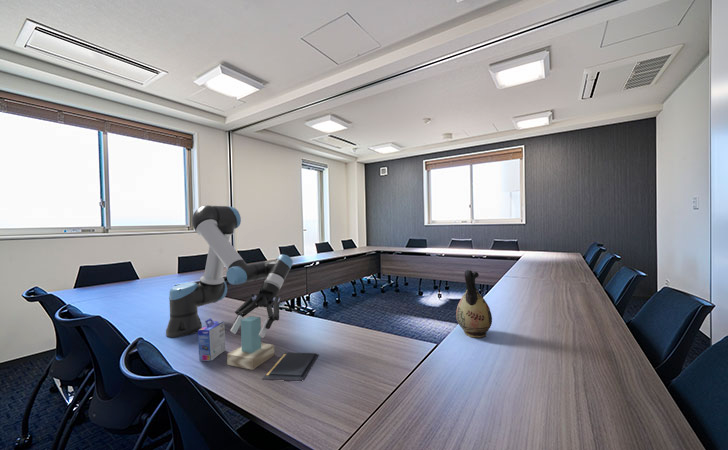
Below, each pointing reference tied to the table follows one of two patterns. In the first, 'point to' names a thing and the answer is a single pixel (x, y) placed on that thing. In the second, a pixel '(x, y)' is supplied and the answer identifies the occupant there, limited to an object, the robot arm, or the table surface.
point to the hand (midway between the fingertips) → (246, 334)
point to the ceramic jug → (473, 309)
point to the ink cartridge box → (211, 340)
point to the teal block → (250, 334)
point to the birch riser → (250, 357)
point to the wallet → (292, 367)
